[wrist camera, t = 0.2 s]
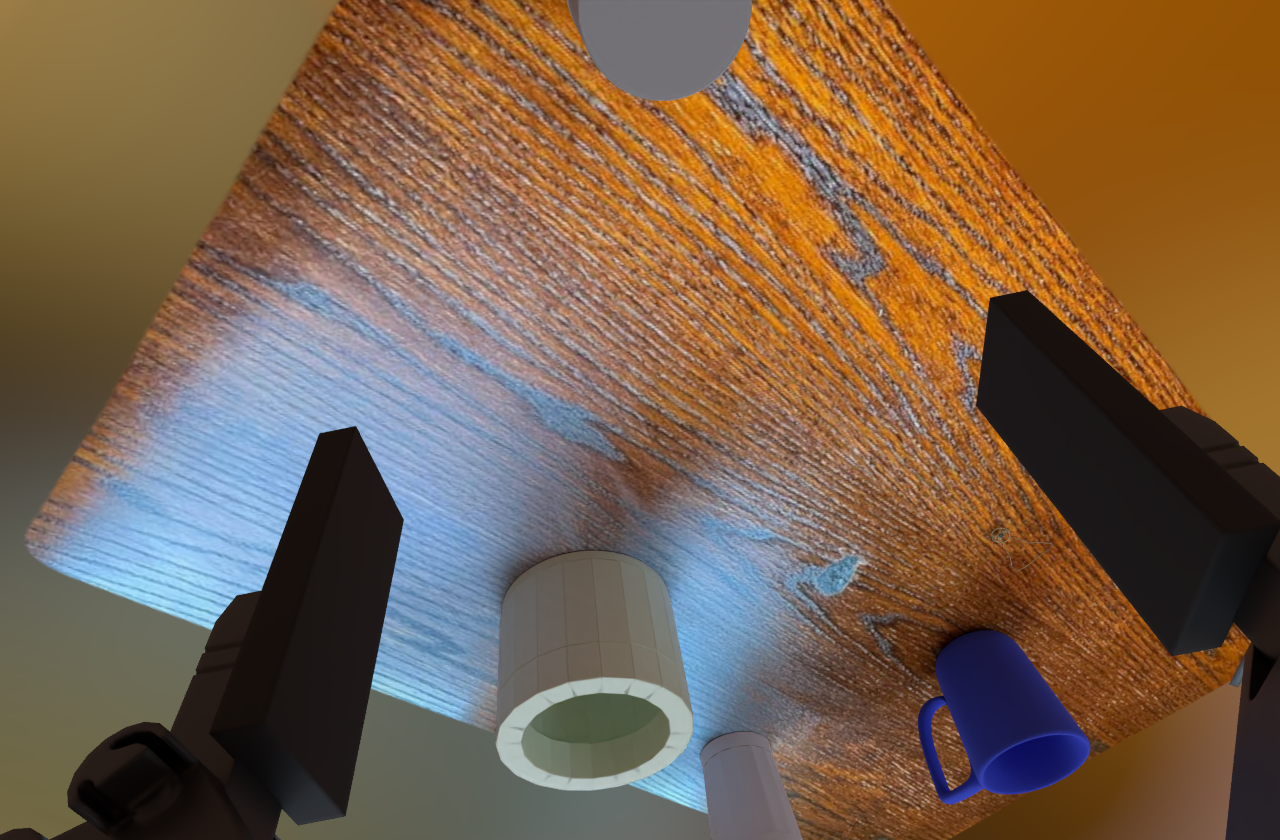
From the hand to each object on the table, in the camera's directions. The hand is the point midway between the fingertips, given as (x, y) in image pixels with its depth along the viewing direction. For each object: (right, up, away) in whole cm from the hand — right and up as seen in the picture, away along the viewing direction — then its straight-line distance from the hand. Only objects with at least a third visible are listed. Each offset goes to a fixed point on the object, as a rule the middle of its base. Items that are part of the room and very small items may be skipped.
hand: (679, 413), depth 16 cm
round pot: (-5, -14, +39) cm, 41 cm away
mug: (+25, -20, +48) cm, 58 cm away
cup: (+8, -30, +52) cm, 61 cm away
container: (-2, +19, +15) cm, 25 cm away
